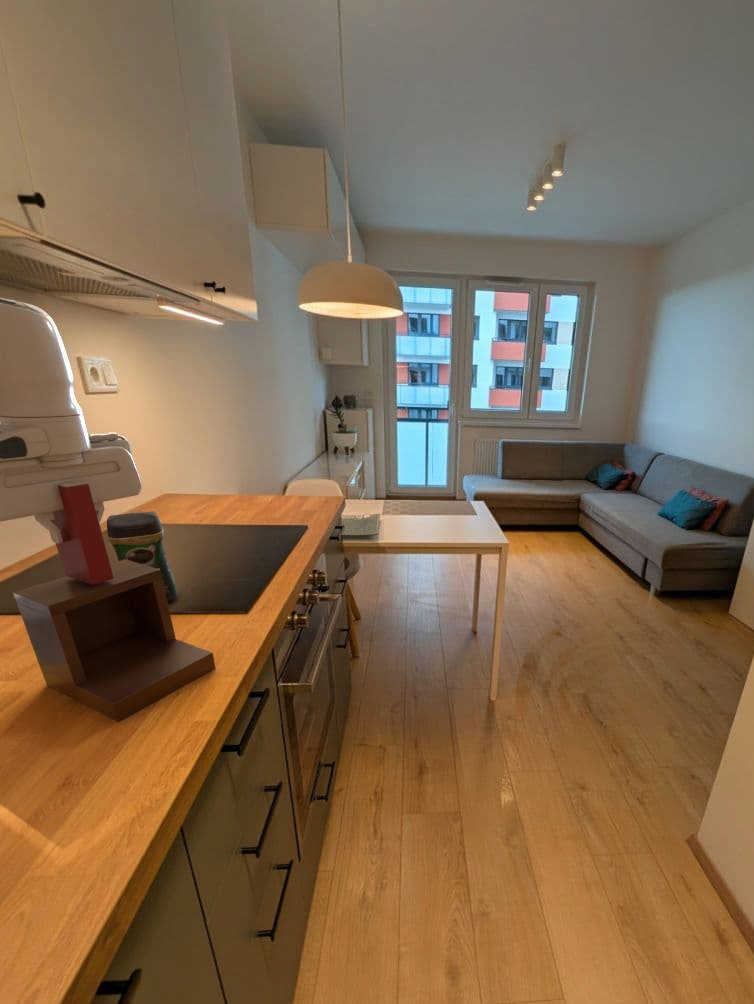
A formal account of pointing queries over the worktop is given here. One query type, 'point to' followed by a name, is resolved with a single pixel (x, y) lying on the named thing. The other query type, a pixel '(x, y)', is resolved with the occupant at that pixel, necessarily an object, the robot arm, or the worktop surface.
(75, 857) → the worktop surface
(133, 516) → the coffee jar
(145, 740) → the worktop surface
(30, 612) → the shelf
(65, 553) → the book
